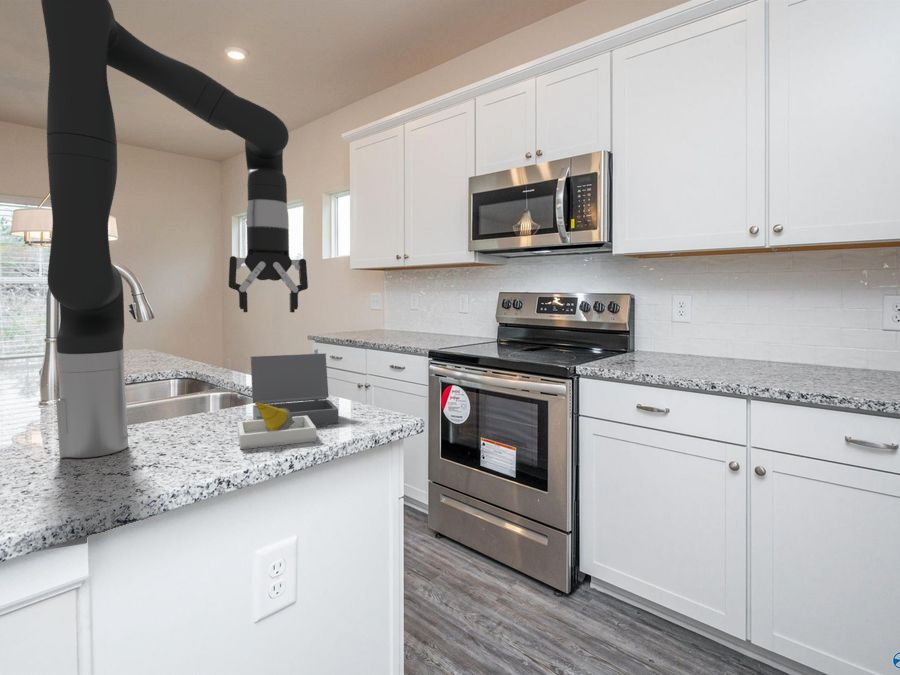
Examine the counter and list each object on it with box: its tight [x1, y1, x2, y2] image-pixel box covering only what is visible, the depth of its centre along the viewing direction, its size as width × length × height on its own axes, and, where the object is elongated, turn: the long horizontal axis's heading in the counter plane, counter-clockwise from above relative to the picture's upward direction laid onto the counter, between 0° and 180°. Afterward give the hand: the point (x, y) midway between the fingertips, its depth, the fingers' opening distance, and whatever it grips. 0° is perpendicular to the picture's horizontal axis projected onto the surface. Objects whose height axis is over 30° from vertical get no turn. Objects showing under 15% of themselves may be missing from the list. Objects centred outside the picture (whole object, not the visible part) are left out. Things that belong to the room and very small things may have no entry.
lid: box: [250, 352, 329, 405], centre depth 115 cm, size 16×10×1 cm
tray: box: [237, 415, 317, 450], centre depth 98 cm, size 13×10×2 cm
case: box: [252, 399, 339, 427], centre depth 110 cm, size 16×10×3 cm, turn 114°
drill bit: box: [254, 402, 295, 431], centre depth 97 cm, size 5×5×10 cm
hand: (269, 312), depth 100 cm, fingers open, 8 cm apart
